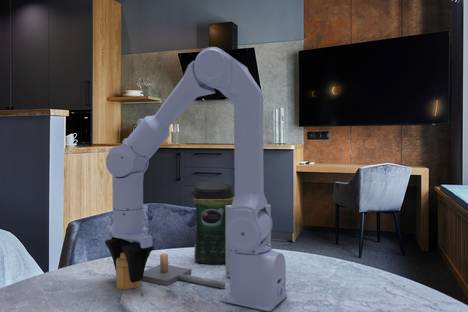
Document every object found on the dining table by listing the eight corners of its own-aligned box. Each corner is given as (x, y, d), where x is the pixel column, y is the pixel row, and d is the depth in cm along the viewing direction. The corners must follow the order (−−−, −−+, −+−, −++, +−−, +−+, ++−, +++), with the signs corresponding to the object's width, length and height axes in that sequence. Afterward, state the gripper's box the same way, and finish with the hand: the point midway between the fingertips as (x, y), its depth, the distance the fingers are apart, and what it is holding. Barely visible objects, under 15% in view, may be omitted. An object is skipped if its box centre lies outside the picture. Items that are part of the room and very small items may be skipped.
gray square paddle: (235, 282, 78) (235, 259, 78) (213, 295, 71) (213, 271, 71) (161, 268, 87) (161, 248, 87) (136, 279, 80) (135, 257, 80)
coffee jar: (237, 255, 97) (236, 180, 96) (232, 265, 89) (232, 183, 89) (198, 254, 98) (197, 180, 98) (190, 264, 90) (190, 183, 90)
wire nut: (146, 282, 78) (146, 251, 78) (129, 290, 74) (129, 257, 74) (128, 279, 81) (128, 248, 80) (111, 286, 76) (110, 254, 76)
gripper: (166, 210, 74) (167, 281, 75) (129, 202, 85) (129, 265, 85) (132, 214, 70) (133, 291, 70) (97, 205, 80) (98, 272, 81)
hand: (129, 277), depth 77 cm, fingers closed on wire nut, 5 cm apart
